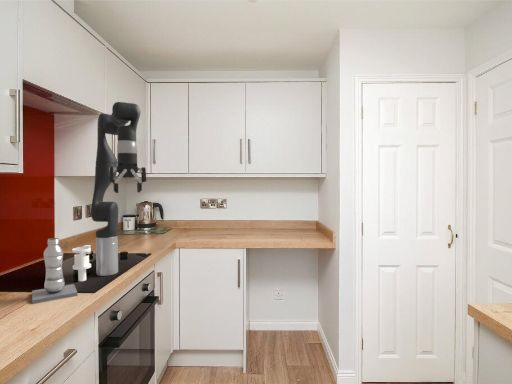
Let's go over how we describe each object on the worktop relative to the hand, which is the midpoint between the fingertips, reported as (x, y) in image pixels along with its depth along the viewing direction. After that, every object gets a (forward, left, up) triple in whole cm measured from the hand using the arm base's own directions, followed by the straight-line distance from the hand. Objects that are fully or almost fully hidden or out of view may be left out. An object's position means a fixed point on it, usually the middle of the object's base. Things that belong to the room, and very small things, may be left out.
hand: (127, 192), depth 133 cm
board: (-5, -26, -38) cm, 46 cm away
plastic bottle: (-5, -26, -37) cm, 46 cm away
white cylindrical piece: (-19, -15, -38) cm, 45 cm away
